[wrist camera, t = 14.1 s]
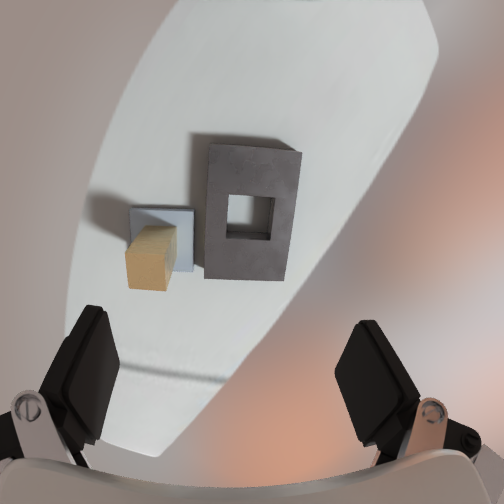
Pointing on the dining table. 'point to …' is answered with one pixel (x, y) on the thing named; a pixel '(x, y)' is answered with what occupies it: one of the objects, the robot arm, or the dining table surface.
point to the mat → (169, 218)
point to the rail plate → (251, 184)
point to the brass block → (152, 258)
